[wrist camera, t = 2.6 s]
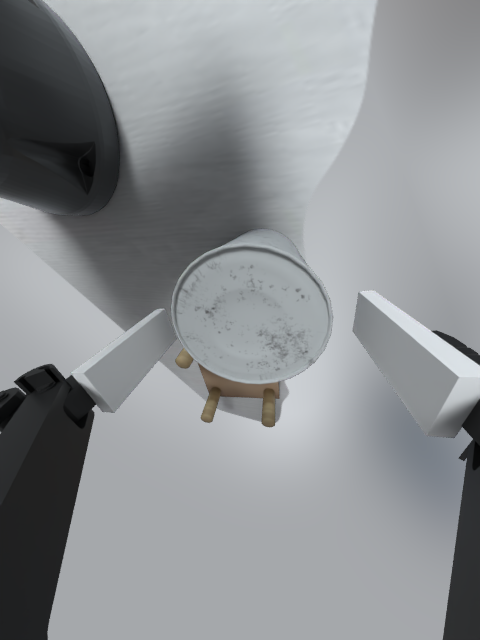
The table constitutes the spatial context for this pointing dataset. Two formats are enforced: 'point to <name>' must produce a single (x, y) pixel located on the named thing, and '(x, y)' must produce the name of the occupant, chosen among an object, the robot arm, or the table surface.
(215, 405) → the peg stand
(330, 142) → the table surface
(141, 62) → the table surface
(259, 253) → the grey marbled cylinder
